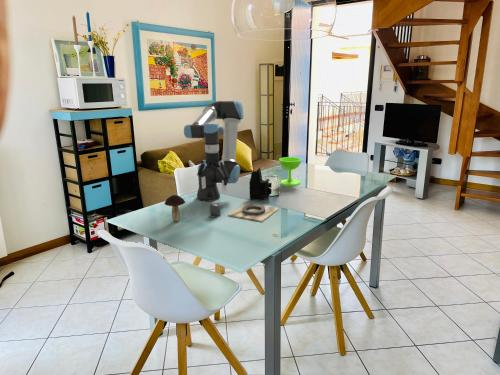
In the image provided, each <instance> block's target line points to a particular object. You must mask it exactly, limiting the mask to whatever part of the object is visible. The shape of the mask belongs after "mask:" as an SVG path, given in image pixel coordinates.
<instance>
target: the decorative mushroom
mask: <svg viewBox="0 0 500 375" xmlns="http://www.w3.org/2000/svg"><path fill="white" fill-rule="evenodd" d="M185 203H186V201H185V200H184V198H183V197H181V196H180V195H177V194H173V195H169V197H168V198H166V199H165V202H164V205H165V206H168V207H171V219H172V221H174V222H179V221H180V219H181V213H180V209H179V206H181V205H184V204H185Z"/></svg>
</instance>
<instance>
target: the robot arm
mask: <svg viewBox="0 0 500 375" xmlns="http://www.w3.org/2000/svg"><path fill="white" fill-rule="evenodd" d="M243 107H244V106H243V104H242V102H241V101H238V100H218V101H217V100H216V101H214V102H212V103H210V104H208V105H206V106H205V107H203V110H202V113H201V114H200V115H199V116H198V117H197V118H196V120H194V122H193V123H192V124H185V126H184V127H183V135H184V137H185V138H186V139H204V152H205V153H204V155H205V159H201V160H200V164H198V166H197V173H196V176H197V178H198V189H197V193H196V199H197V200H198V201H200V202H211V201H212V202H214V201H217V200H219V199H221V192H222V193H223V192H226V191H227V185H228V184H236V183H237V182H238V181H239V178H240V174H241V166H240V165H239V163H238V161H237V160H236V159H237V158H236V156H237V146H238V145H237V144H238V143H237V142H238V128H239V124H241V121H242V120H243V119H244V108H243ZM215 120H222V122H223V124H224V126H223V125H222V124H218V123H217V122H215ZM213 121H214V122H213ZM222 137H223V142H222V143H223V146H222V158H221V160H220V152H219V151H220V145H219V143H220V142H219V139H220V138H222ZM218 184H221V190H222V191H221V192H220V191H219V188H218Z"/></svg>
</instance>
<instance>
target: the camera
mask: <svg viewBox="0 0 500 375" xmlns="http://www.w3.org/2000/svg"><path fill="white" fill-rule="evenodd" d="M248 183H249V199H250V201H253V200H255V201H256V200H258V201H264V200H265V199H269V198H270V196H271V195H272V186H273V185H272V182H270V179H269V178H266V180H263V176H262V171H261V167H258V169H256V170H252V171H251V173H250V179H249V182H248Z"/></svg>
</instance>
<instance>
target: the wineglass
mask: <svg viewBox="0 0 500 375" xmlns="http://www.w3.org/2000/svg"><path fill="white" fill-rule="evenodd" d="M278 161H279V164H280V166H281V167H282V168H283V169H284V170H286V171H288V178H286V179H282V180H280V181H281V185H280V186H283V187H284V186H285V187H296V186H300V185H301V184H302V182H301V181H300V180H298V179H294V178H293V179H292V171H294V170H296V169H298V168H299V166H300V165H301V162H302V158H300V157H295V156H287V157H280V158H279V159H278Z"/></svg>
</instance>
